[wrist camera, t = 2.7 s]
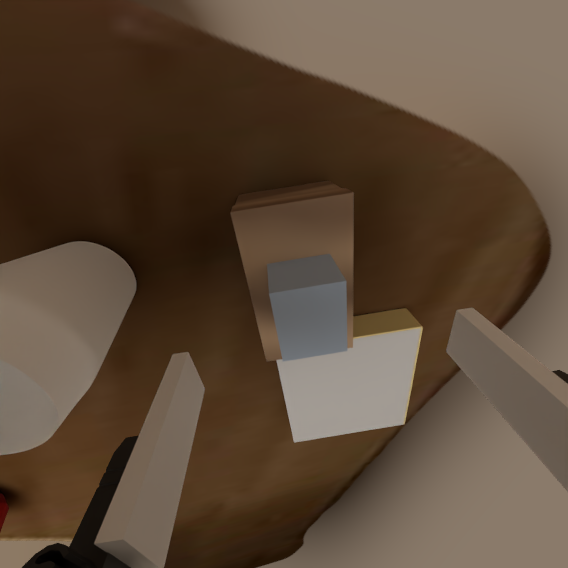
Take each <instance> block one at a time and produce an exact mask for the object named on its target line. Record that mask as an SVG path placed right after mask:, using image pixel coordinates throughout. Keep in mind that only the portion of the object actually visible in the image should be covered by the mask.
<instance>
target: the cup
mask: <svg viewBox="0 0 568 568" xmlns="http://www.w3.org/2000/svg"><path fill="white" fill-rule="evenodd" d="M135 292H136V279H135V276H134V273H133V271H132V269H131V268H130V266H129V265H128V264H127V263H126V261H125V260H124V259H123V258H121V257H120V256H119V255H118V254H116V253H115V252H113V251H112V250H110V249H108V248H106V247H104V246H102V245H99V244H96V243H91V242H85V241H75V242H70V243H66V244H63V245H60V246H56V247H53V248H50V249H47V250H44V251H41V252H38V253H34V254H31V255H28V256H25V257H22V258H19V259H15V260H12V261H9V262H6V263H3V264H0V455H6V454H13V453H18V452H23V451H26V450H29V449H32V448H35V447H37V446H39V445H41V444H43V443H44V442H46V441H47V440H48V439H49V438H51V436H52V435H53V434H54V433H55V431H56V430H57V429H58V427H59V426H60V425H61V423H62V422H63V421H64V419H65V418H66V417H67V415H68V414H69V413H70V412H71V410H72V409H73V408H74V406H75V405H76V404H77V403H78V401H79V400H80V399H81V398H82V396H83V395H84V394H85V393H86V392H87V390H88V389H89V388H90V386H91V384H92V383H93V381H94V379H95V377H96V375H97V373H98V371H99V369H100V367H101V365H102V363H103V361H104V359H105V356H106V354H107V352H108V350H109V348H110V346H111V344H112V342H113V340H114V337H115V335H116V333H117V331H118V329H119V327H120V325H121V323H122V320H123V318H124V316H125V314H126V312H127V310H128V308H129V306H130V303H131V301H132V299H133V297H134V295H135Z"/></svg>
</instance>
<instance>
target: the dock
mask: <svg viewBox="0 0 568 568" xmlns="http://www.w3.org/2000/svg"><path fill="white" fill-rule="evenodd" d="M422 329H423V327H422V326H421V325H420V324H419V322H418V321H417V320H416V319H415V318H414V317H413V315H412V314H411V313H410V312H409V311H408V310H407V309H406V308H402V309H396V310H390V311H383V312H377V313H371V314H365V315H359V316H353V348H347V351H344V352H338V353H332V354H326V355H320V356H314V357H308V358H302V359H296V360H290V361H284V362H283V360H282V359H280V360H277V365H278V370H279V374H280V379H281V384H282V388H283V393H284V398H285V402H286V407H287V412H288V416H289V421H290V426H291V430H292V435H293V440H294V442H300V441H306V440H312V439H318V438H324V437H330V436H336V435H342V434H348V433H354V432H360V431H366V430H372V429H378V428H384V427H390V426H396V425H402V424H405V419H406V414H407V409H408V404H409V398H410V393H411V388H412V382H413V377H414V372H415V366H416V361H417V356H418V351H419V345H420V340H421V335H422Z"/></svg>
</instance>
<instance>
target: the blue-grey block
mask: <svg viewBox="0 0 568 568" xmlns="http://www.w3.org/2000/svg"><path fill="white" fill-rule="evenodd" d="M267 271H268V286H269V296H270V301H271V306H272V311H273V316H274V321H275V326H276V330H277V335H278V340H279V345H280V350H281V355H282V360H283V362H284V361H290V360H296V359H302V358H308V357H314V356H320V355H326V354H332V353H338V352H344V351H347V290H346V279H345V278H344V276H343V275H342V273H341V271H340V270H339V268H338V266H337V265H336V263H335V261H334V260H333V258H332V257H331V255H330V254H324V255H318V256H312V257H306V258H300V259H294V260H288V261H282V262H276V263H270V264H267Z"/></svg>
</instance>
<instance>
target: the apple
mask: <svg viewBox="0 0 568 568" xmlns="http://www.w3.org/2000/svg"><path fill="white" fill-rule="evenodd" d="M8 509H9V507H8V505H7V502H6V499H5V497H4V495H3V494H1V493H0V531H1V528H2V526H3V523H4V520H5V517H6V515H7V512H8Z"/></svg>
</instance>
